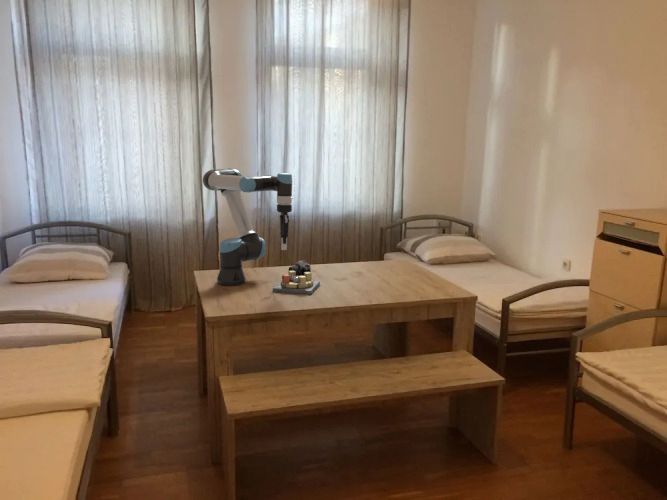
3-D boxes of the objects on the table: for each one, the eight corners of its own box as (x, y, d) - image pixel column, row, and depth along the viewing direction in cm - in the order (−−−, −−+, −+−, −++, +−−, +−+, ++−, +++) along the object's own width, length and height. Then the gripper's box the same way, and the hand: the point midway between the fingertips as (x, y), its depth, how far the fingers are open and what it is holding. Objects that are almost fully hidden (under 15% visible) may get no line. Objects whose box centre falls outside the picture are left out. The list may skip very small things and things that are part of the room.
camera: (284, 275, 327) (284, 258, 325) (301, 274, 332) (301, 257, 330) (295, 282, 314) (295, 264, 312) (312, 280, 318) (312, 262, 316)
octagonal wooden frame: (306, 289, 290) (306, 278, 289) (276, 286, 295) (276, 276, 294) (316, 281, 306) (316, 271, 304) (288, 279, 310) (288, 269, 309)
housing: (272, 291, 293) (272, 280, 292) (283, 282, 312) (284, 271, 311) (310, 294, 289) (310, 283, 288) (319, 284, 308) (320, 274, 307)
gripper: (294, 205, 286) (293, 251, 291) (289, 202, 299) (288, 246, 304) (279, 205, 285) (278, 252, 289) (274, 202, 297) (274, 247, 302)
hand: (283, 249), depth 296 cm, fingers closed
